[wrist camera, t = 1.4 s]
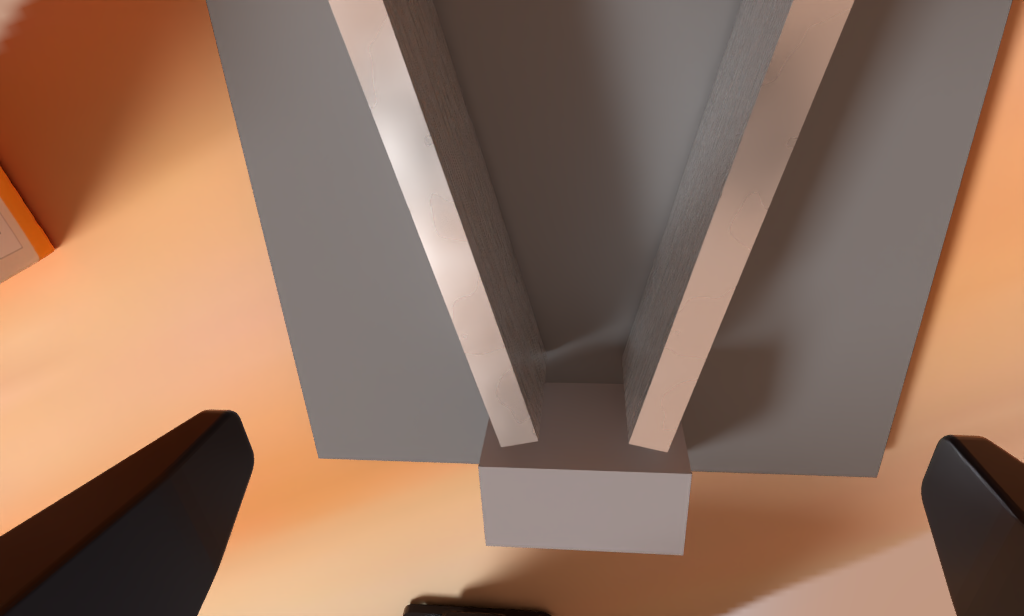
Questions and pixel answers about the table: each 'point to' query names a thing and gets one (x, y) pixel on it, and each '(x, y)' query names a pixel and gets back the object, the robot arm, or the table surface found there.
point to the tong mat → (609, 244)
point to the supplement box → (18, 233)
